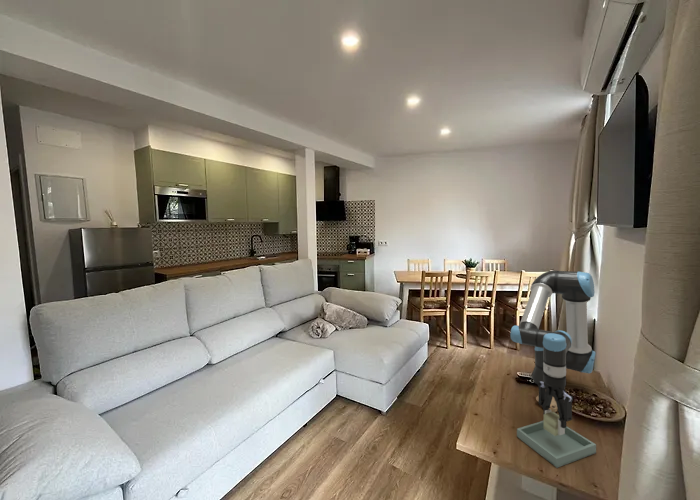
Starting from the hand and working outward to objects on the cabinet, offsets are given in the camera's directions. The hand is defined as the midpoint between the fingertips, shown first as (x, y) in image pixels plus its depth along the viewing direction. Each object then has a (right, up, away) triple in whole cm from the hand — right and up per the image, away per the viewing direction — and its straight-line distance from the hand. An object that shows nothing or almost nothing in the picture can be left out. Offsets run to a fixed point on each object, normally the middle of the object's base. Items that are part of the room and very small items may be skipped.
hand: (554, 429), depth 124 cm
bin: (+1, -6, +1) cm, 6 cm away
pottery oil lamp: (+13, -4, +24) cm, 28 cm away
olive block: (0, 0, 0) cm, 1 cm away
